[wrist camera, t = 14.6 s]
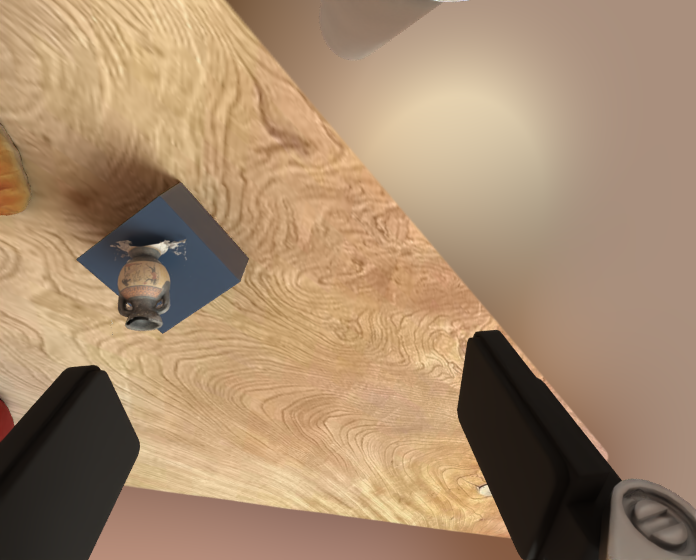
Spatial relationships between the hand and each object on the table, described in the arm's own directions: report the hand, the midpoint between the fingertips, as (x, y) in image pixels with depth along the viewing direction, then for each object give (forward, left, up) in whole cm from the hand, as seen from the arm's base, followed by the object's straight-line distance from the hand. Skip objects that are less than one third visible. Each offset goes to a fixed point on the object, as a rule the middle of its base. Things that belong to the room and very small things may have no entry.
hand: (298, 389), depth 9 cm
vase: (+5, -12, -21) cm, 25 cm away
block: (+5, -12, -26) cm, 29 cm away
